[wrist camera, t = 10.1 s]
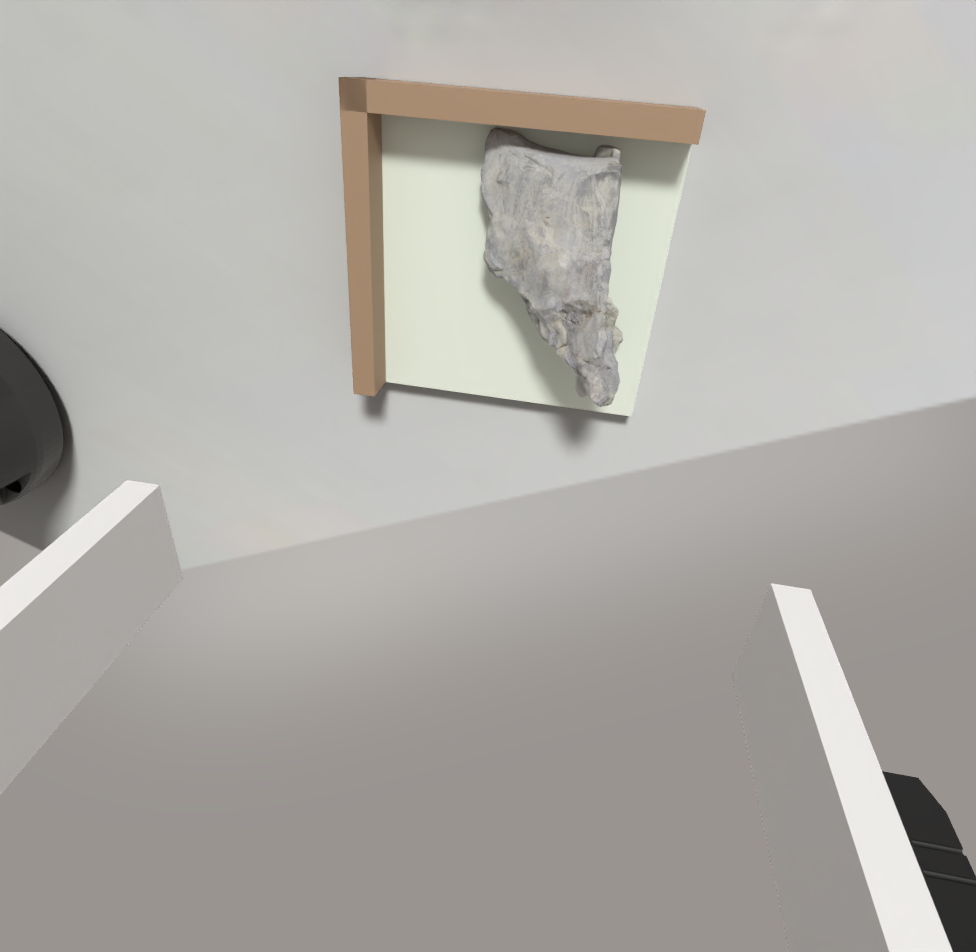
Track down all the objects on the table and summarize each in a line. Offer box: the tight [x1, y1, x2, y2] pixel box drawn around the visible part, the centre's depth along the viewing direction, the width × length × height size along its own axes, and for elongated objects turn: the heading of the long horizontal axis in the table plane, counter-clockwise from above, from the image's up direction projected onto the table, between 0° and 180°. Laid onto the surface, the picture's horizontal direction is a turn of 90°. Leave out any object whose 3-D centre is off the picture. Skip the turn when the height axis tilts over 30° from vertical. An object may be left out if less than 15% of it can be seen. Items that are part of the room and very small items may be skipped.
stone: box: [480, 127, 623, 407], centre depth 29 cm, size 6×12×4 cm, turn 7°
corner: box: [339, 77, 706, 417], centre depth 31 cm, size 15×15×3 cm
